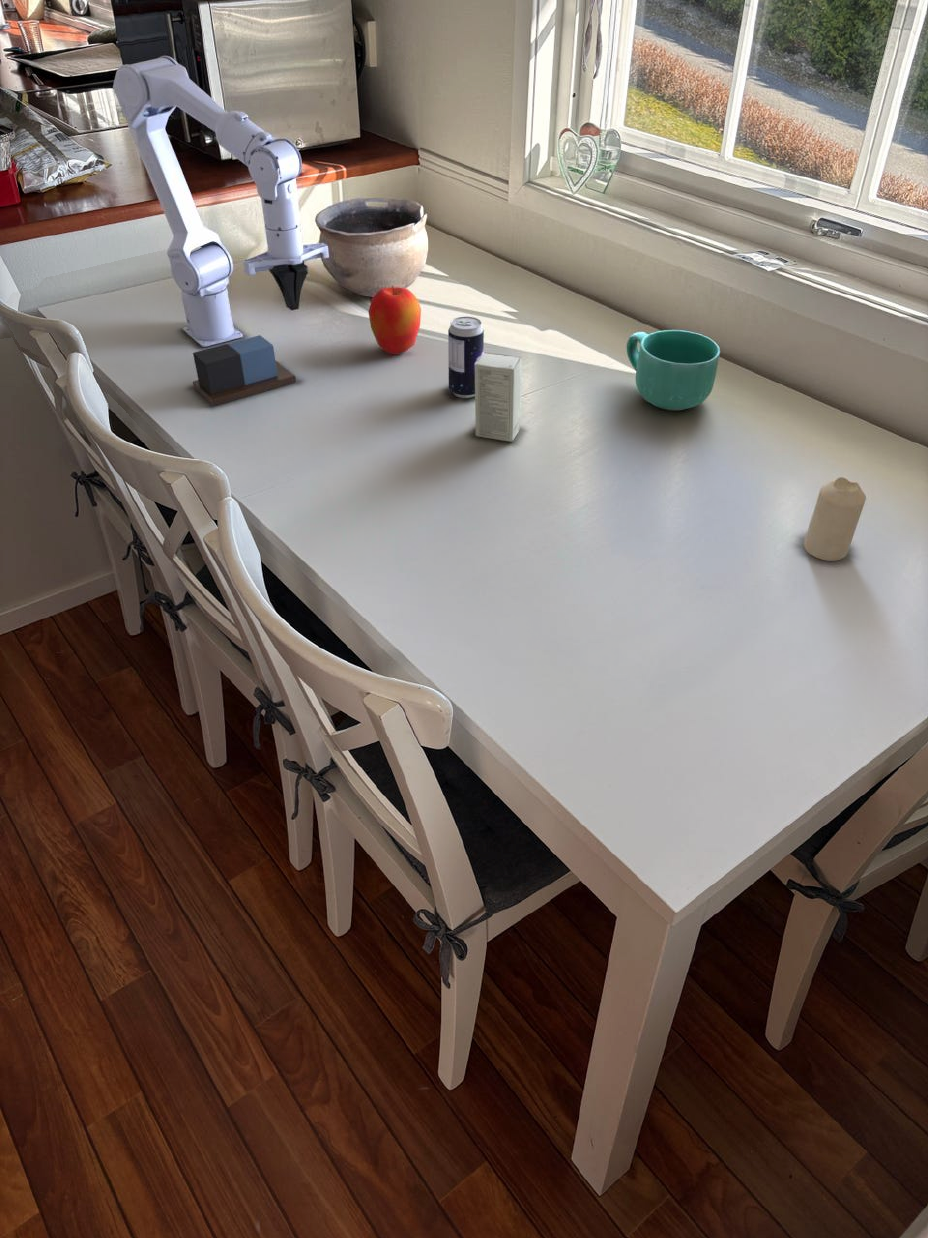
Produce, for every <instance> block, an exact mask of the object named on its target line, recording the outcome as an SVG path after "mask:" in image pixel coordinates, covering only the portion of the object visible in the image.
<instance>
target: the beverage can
mask: <svg viewBox="0 0 928 1238" xmlns="http://www.w3.org/2000/svg"><path fill="white" fill-rule="evenodd" d="M447 331H448V333H447V334H448V335H447V337H448V338H447V339H448V342H447V344H448V346H447V347H448V348H447V349H448V351H447V352H448V354H447V355H448V356H447V357H448V358H447V359H448V390H449V391H450V392H451V393H453V395H454V396H455V397H458V398H461V399H470V398H475V362H476V361H477V360H478V359H479V357H480V356H481V355H482V353H483V352H484V349H485V348H484V344H485V329H484V327H483V326H482V321H481V320H480V319H479V318H477V317H473V316H458V317H455V318H453V319H452V320H451V321H450V326H449V327H448V330H447Z"/></svg>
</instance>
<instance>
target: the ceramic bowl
mask: <svg viewBox="0 0 928 1238" xmlns="http://www.w3.org/2000/svg"><path fill="white" fill-rule="evenodd" d="M427 219H428V213H424V206H423V205H422V204H420V203H419V202H416V201H413V200H409V199H397V198H383V197H365V198H363V197H359V198H358V197H357V198H352V199H347V200H343V201H339V202H336V203H334V204H332V205H328V206H327V207H325V208H324V209H322V210H320V211H319V212H318V213H316V215H315V218H314V222H315V224H316V227H317V228H318V230H319V238H318V243H324V244H325V245H327V246H328V254H329V257H328V258H322V257H321V258H320V260H321V263H322V265H323V267H324V268H325V270H326V271H327V273H328V274H329V275H330V276H331V278H332V279H333V280H334V281H335V282H337V283H338V284H339V285H341V286H342V287H343V288H344V289H346V290H347V291H348V292H351V293H353V294H355V295H358V296H362V297H372V298H373V297H374V296H375V294H376V293H377V292H378V291H379V290H380V289H383V288H392V286H393V287H401V288H406V289H408V288H409V287H411V285H412V284H413V283H414V282H415V281H416V280H417V278H418V277H419V275H420V274H421V272H422V271H423V268H424V267H425V265H426V262H427V257H428V251H429V238H428V233H427V230H426V223H427Z"/></svg>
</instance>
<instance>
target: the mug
mask: <svg viewBox="0 0 928 1238" xmlns="http://www.w3.org/2000/svg"><path fill="white" fill-rule="evenodd" d="M626 341H627V342H626V347H625V348H626V355H627V357H628V360H629V363H630V364H631V366H632V368H633V369H634V370H635V384H636V390H637V391H638V393H639V395H640V396H641V397H642V398H643V399H644V400H645V401H646V402H648V403H650V404H651V405H653V406H654V407H656V408H658V409H662V410H667V411H672V412H673V411H676V412H677V411H684V410H687V409H691V408H694V407H696V406H699V405H700V404H702V403H703V402H704V401H706V400H707V399H708V397H709V396H710V395H711V392H712V390H713V388H714V383H715V380H716V376H717V370H718V366H719V360H720V356H721V355H720V354H721V349H720V346H719V345H718V343H716V342H715V341H714V340H713V339H711V338H710V337H708V336H706V335H705V334H700V333H697V332H694V331H690V330H689V331H688V330H681V329H678V330H677V329H665V330H658V331H654V332H651V333H649V334H648V333H646V332H644V331H637V332H634V333H633V334H631V335H630V336H629V338H628V339H627V340H626Z"/></svg>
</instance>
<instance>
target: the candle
mask: <svg viewBox="0 0 928 1238" xmlns="http://www.w3.org/2000/svg"><path fill="white" fill-rule="evenodd" d="M866 500H867V496H866V494H865V492H864V490H863V489H862V487H861V486H860V484H859V482H855V481H850V480H848V479H847V478H845V477H842V476H841V477H838V478H836V479H833V480H831V481H829V482H827V483H824V484H823V485H821V487H820V488H819V491H818V495H817V499H816V501H815V504H814V508H813V512H812V515H811V518H810V521H809V524H808V528H807V532H806V535H805V539H804V543H803V545H804V546H803V547H804V549H805V551H806V552H807V553H808V554H809V555H810V556H812V557H814V558H816V559H819V560H822V561H828V562H837V561H840V560H842V559H844V558H845V557H846V556H847V555H848V552H849V549H850V547H851V544H852V541H853V538H854V535H855V533H856V529H857V526H858V524H859V522H860V518H861V514H862V511H863V509H864V506H865V503H866Z"/></svg>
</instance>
